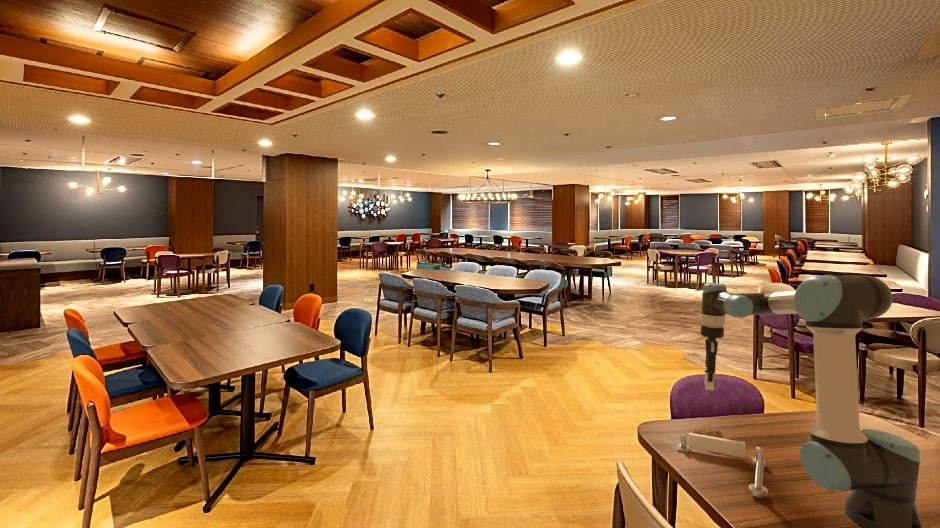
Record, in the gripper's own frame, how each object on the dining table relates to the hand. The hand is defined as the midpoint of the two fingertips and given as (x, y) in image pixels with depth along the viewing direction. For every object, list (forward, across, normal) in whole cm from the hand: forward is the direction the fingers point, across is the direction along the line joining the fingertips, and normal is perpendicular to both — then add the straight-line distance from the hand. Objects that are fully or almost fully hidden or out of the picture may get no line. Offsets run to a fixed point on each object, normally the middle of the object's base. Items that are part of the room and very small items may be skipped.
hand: (708, 387), depth 173 cm
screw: (+17, +40, +11) cm, 45 cm away
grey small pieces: (+17, +19, +3) cm, 25 cm away
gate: (+15, +19, +2) cm, 25 cm away
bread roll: (+17, +10, 0) cm, 20 cm away
